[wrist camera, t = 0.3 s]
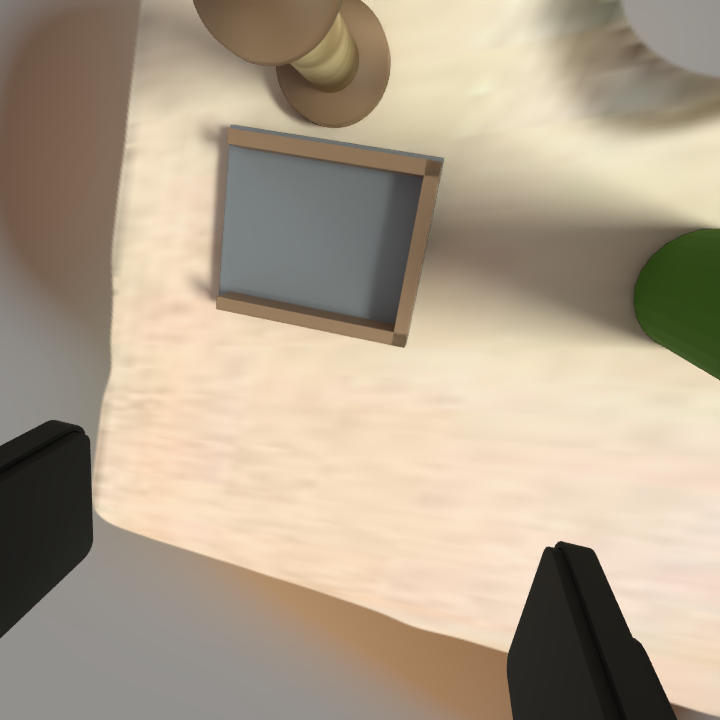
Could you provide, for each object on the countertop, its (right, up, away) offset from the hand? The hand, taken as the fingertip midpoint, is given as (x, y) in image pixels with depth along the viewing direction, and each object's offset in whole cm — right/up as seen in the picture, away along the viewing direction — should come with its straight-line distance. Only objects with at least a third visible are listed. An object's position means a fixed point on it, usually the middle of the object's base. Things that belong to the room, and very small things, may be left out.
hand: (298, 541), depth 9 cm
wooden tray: (-1, +13, +28) cm, 31 cm away
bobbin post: (-1, +25, +25) cm, 35 cm away
